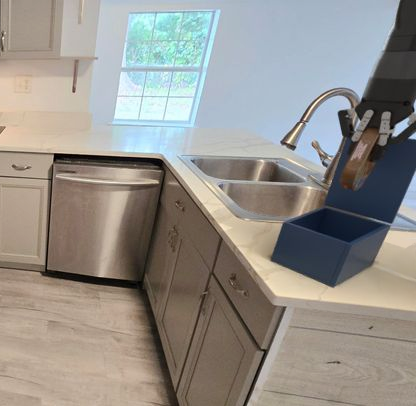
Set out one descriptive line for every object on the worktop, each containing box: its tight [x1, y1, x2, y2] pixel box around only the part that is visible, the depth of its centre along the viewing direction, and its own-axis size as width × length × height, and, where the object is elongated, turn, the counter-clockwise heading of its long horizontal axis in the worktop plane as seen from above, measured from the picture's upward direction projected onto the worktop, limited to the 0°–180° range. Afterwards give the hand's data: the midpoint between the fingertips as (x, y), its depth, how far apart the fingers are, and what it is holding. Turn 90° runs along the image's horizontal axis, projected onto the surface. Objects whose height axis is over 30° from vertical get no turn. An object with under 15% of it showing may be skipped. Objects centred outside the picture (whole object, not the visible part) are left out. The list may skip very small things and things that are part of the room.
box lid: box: [323, 130, 416, 225], centre depth 85 cm, size 20×13×6 cm
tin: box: [340, 126, 380, 191], centre depth 79 cm, size 15×3×8 cm
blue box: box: [269, 205, 392, 288], centre depth 87 cm, size 19×13×11 cm
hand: (363, 159), depth 79 cm, fingers closed on tin, 2 cm apart
